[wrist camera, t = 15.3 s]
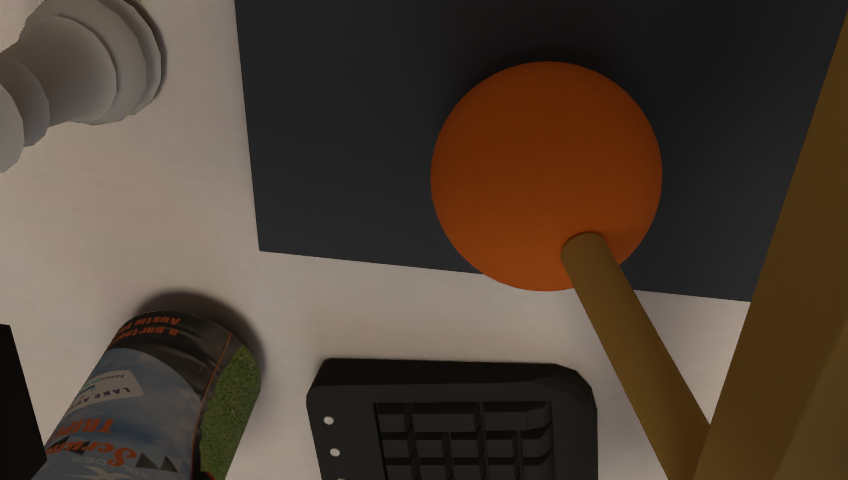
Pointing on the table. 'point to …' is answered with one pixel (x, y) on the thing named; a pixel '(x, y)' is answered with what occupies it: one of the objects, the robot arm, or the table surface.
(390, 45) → the slate mat
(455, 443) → the keyboard
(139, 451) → the beverage can
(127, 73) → the rook chess piece
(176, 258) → the table surface
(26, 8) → the table surface
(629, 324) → the ball on t-bar
